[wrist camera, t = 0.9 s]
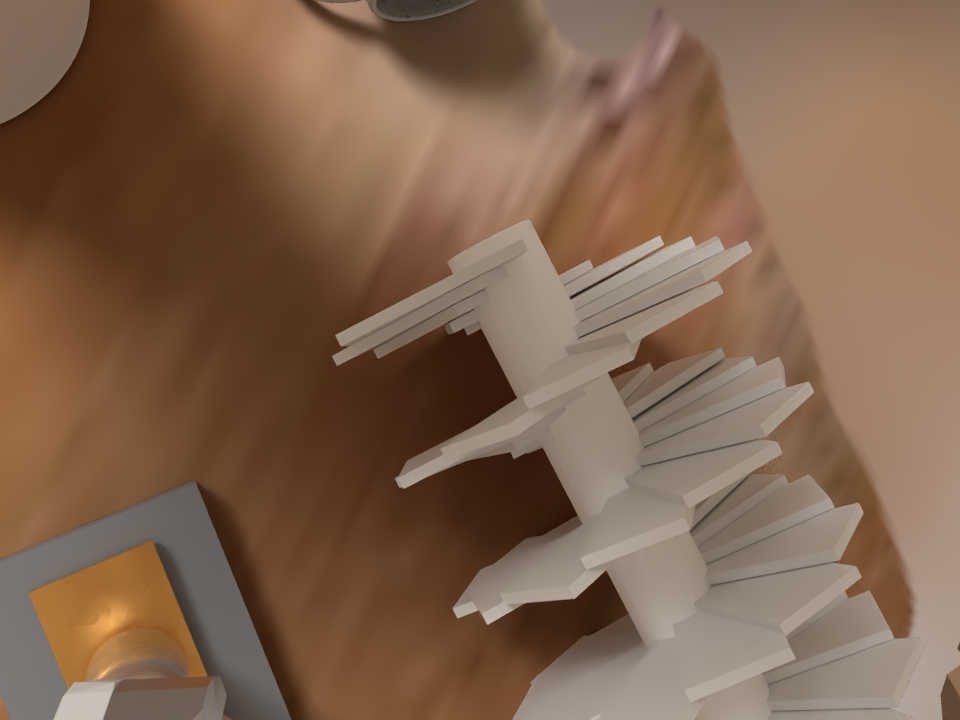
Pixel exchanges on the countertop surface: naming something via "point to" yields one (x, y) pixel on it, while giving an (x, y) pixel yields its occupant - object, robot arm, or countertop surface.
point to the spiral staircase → (655, 496)
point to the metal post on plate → (117, 621)
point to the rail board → (195, 581)
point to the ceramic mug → (410, 8)
